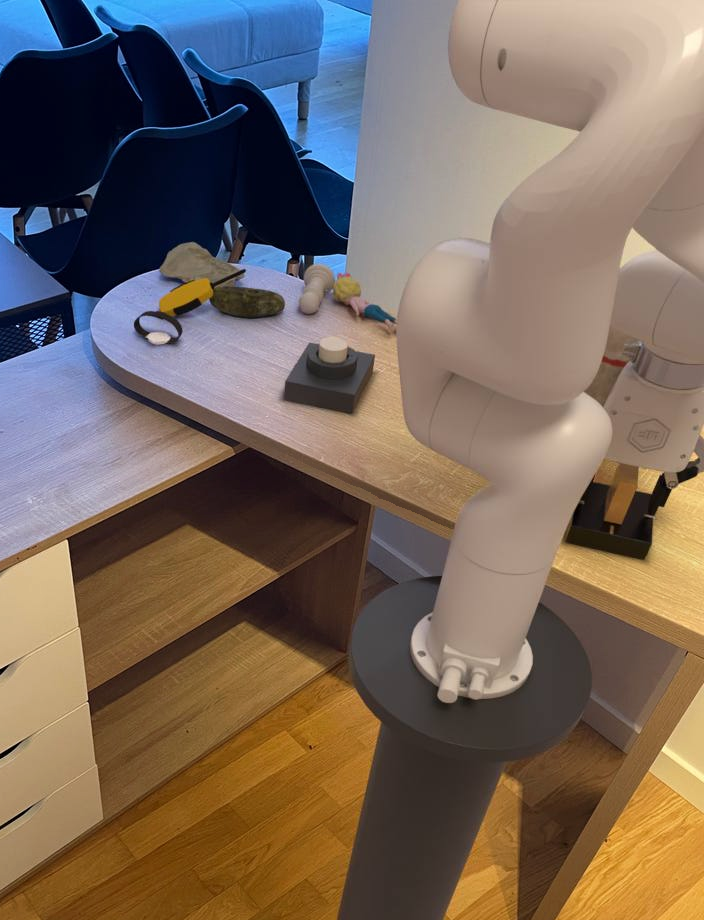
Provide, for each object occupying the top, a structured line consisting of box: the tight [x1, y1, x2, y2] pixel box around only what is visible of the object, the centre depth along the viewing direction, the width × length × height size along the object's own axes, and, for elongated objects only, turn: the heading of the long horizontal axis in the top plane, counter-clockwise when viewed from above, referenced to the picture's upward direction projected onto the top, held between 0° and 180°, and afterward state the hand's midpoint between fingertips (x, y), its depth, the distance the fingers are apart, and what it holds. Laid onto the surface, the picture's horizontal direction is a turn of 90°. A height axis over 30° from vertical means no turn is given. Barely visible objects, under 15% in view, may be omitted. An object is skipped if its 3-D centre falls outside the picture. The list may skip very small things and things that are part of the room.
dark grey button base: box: [283, 342, 376, 415], centre depth 128 cm, size 12×10×5 cm
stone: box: [158, 241, 246, 288], centre depth 153 cm, size 15×3×10 cm
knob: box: [604, 463, 640, 524], centre depth 105 cm, size 6×2×6 cm, turn 160°
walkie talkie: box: [158, 268, 247, 317], centre depth 142 cm, size 5×2×15 cm
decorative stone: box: [208, 286, 286, 319], centre depth 144 cm, size 12×5×4 cm, turn 101°
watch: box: [133, 310, 183, 345], centre depth 137 cm, size 8×5×4 cm
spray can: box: [584, 326, 640, 407], centre depth 115 cm, size 8×8×20 cm
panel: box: [564, 481, 658, 561], centre depth 108 cm, size 10×10×3 cm
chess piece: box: [298, 263, 336, 315], centre depth 147 cm, size 5×5×9 cm
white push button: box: [318, 336, 349, 363], centre depth 126 cm, size 4×4×2 cm
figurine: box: [332, 272, 397, 334], centre depth 144 cm, size 6×4×15 cm
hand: (617, 500), depth 106 cm, fingers open, 7 cm apart
